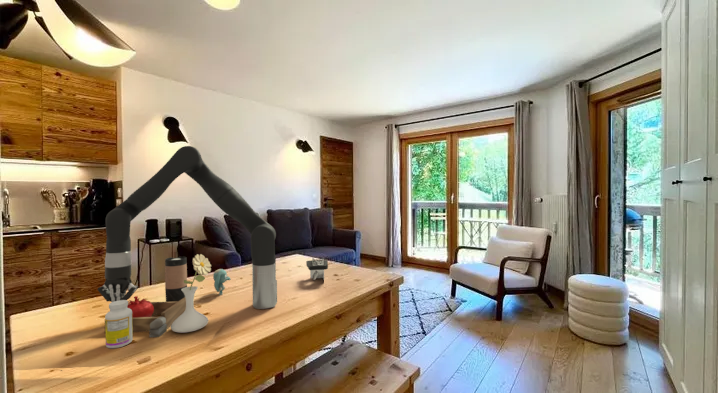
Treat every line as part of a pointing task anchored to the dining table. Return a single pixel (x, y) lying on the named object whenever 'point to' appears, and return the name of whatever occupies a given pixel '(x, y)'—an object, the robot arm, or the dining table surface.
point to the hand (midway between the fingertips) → (117, 312)
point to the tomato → (141, 308)
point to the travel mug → (175, 278)
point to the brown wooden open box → (159, 318)
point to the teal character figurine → (220, 280)
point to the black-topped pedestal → (317, 268)
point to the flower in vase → (191, 317)
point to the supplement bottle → (118, 324)
